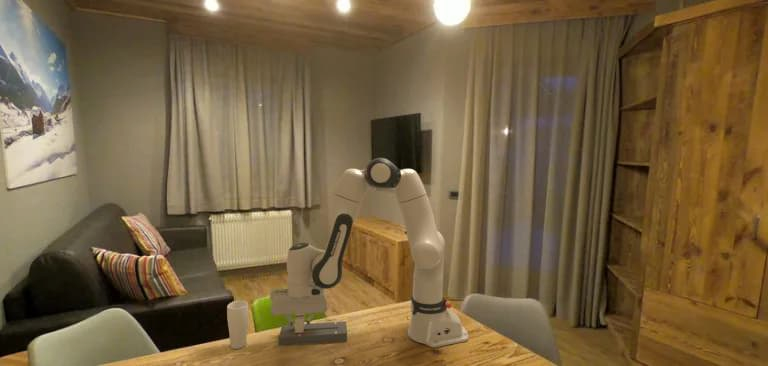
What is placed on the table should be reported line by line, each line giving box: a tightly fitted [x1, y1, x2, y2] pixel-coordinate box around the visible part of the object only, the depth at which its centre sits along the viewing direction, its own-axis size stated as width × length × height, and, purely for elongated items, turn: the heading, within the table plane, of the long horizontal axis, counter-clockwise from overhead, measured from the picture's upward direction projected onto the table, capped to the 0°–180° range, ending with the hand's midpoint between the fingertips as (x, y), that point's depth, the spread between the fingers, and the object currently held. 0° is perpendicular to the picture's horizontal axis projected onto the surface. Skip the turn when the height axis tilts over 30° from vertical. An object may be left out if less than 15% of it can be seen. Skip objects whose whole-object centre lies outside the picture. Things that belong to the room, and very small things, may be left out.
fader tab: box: [294, 314, 305, 333], centre depth 132 cm, size 3×5×5 cm, turn 9°
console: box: [278, 321, 348, 347], centre depth 133 cm, size 24×9×3 cm, turn 99°
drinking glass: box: [226, 300, 249, 350], centre depth 126 cm, size 7×7×15 cm
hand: (299, 324), depth 132 cm, fingers open, 5 cm apart
